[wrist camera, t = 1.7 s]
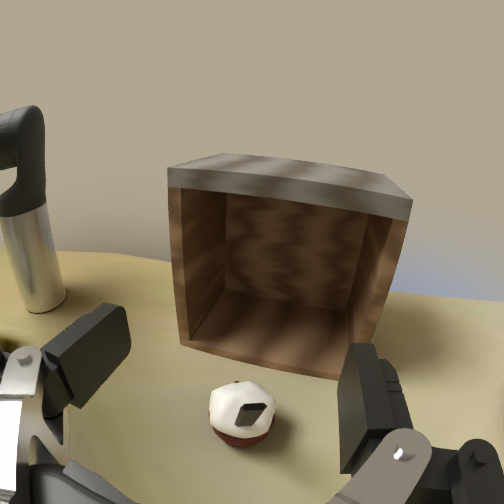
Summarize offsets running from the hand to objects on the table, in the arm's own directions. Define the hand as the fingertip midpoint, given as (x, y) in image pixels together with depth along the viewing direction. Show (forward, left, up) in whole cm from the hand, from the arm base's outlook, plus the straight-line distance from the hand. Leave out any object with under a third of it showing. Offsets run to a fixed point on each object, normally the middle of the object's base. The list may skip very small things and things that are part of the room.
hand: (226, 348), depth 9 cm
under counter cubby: (-1, +25, -20) cm, 32 cm away
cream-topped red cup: (-1, +8, -21) cm, 22 cm away
